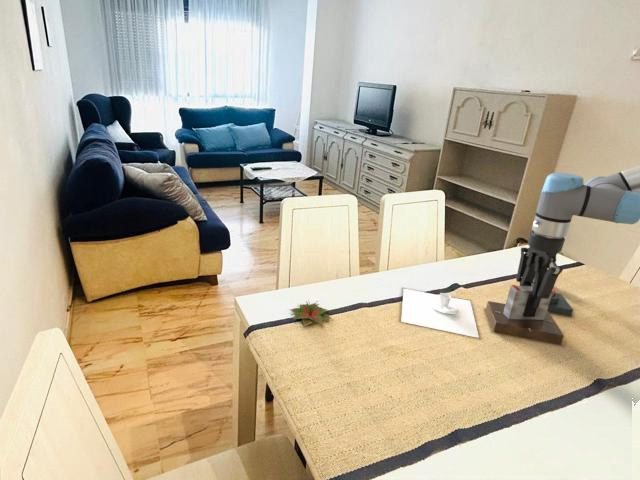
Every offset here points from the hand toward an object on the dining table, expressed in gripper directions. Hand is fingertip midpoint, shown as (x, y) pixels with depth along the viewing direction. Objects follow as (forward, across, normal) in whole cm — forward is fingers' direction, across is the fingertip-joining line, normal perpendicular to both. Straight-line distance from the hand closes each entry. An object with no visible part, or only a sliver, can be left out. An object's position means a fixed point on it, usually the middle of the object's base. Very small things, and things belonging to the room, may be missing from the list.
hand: (524, 312), depth 107 cm
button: (+1, -12, +15) cm, 19 cm away
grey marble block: (+1, 0, 0) cm, 1 cm away
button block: (+5, -12, +14) cm, 19 cm away
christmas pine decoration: (+5, -3, -59) cm, 59 cm away
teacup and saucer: (+5, -7, -21) cm, 23 cm away
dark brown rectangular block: (+5, 0, 0) cm, 5 cm away
